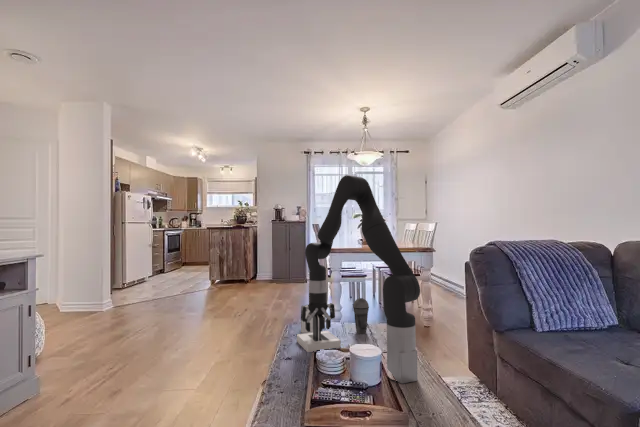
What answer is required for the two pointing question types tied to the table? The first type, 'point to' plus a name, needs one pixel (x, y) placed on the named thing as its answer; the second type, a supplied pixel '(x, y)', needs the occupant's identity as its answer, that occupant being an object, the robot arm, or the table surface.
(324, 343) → the charging dock
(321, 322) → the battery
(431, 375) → the table surface
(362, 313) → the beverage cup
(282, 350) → the table surface
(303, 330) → the medicine bottle
